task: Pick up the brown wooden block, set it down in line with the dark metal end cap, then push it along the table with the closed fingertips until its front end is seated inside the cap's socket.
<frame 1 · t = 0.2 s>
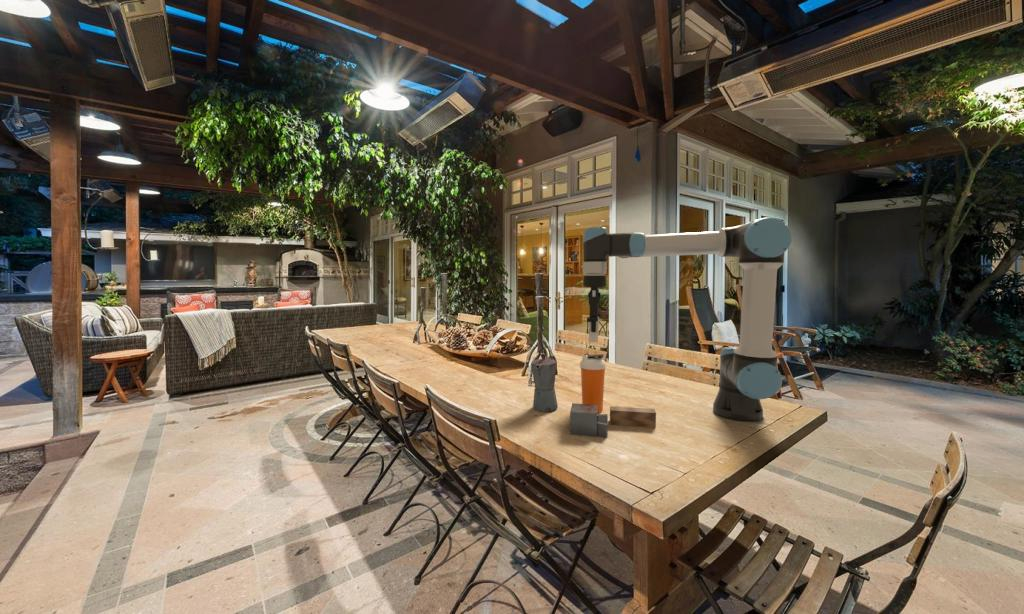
hand: (594, 338, 136), 27 cm above the table, fingers open, 13 cm apart
brown wooden block: (632, 424, 132), on the table
moka pot: (545, 408, 148), on the table
shaker bottle: (592, 410, 146), on the table
end cap: (580, 429, 127), on the table
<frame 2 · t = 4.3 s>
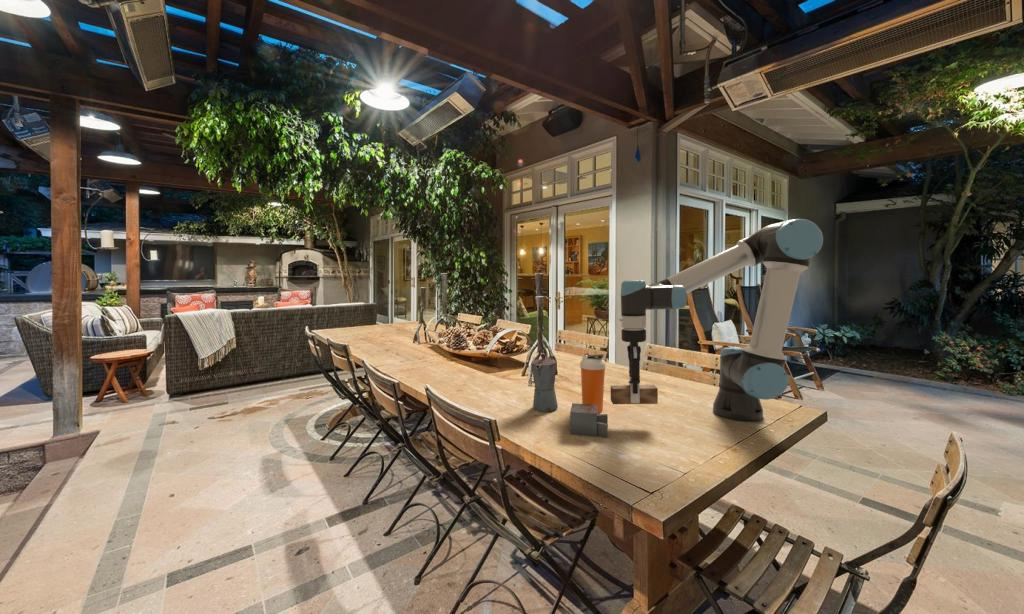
hand: (634, 400, 131), 8 cm above the table, fingers closed on brown wooden block, 5 cm apart
brown wooden block: (633, 402, 131), point 7 cm above the table, touching gripper
everything else where it was.
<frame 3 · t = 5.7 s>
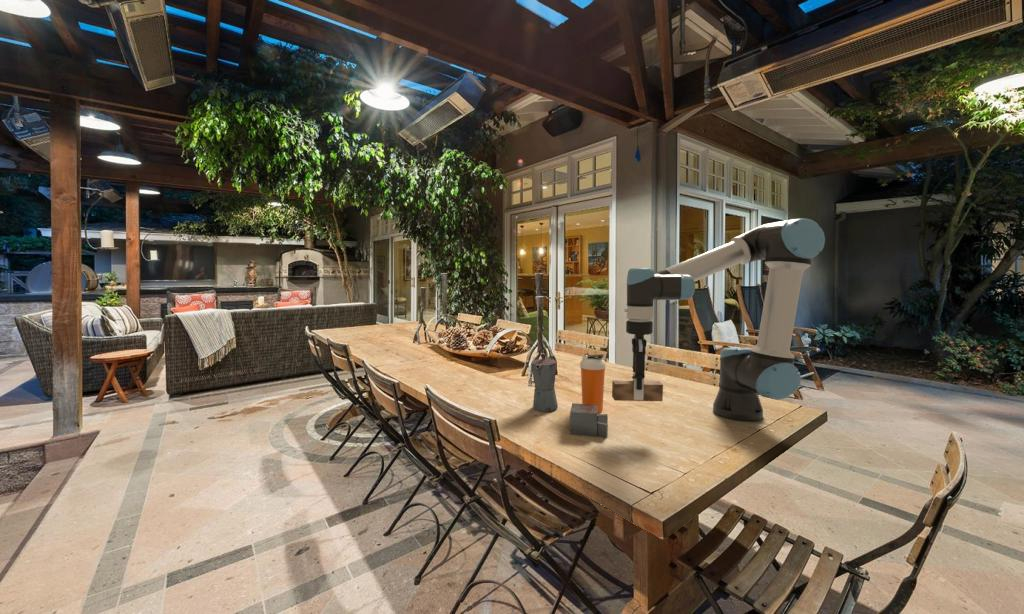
hand: (637, 396, 122), 12 cm above the table, fingers closed on brown wooden block, 5 cm apart
brown wooden block: (636, 398, 123), point 11 cm above the table, touching gripper
everything else where it was.
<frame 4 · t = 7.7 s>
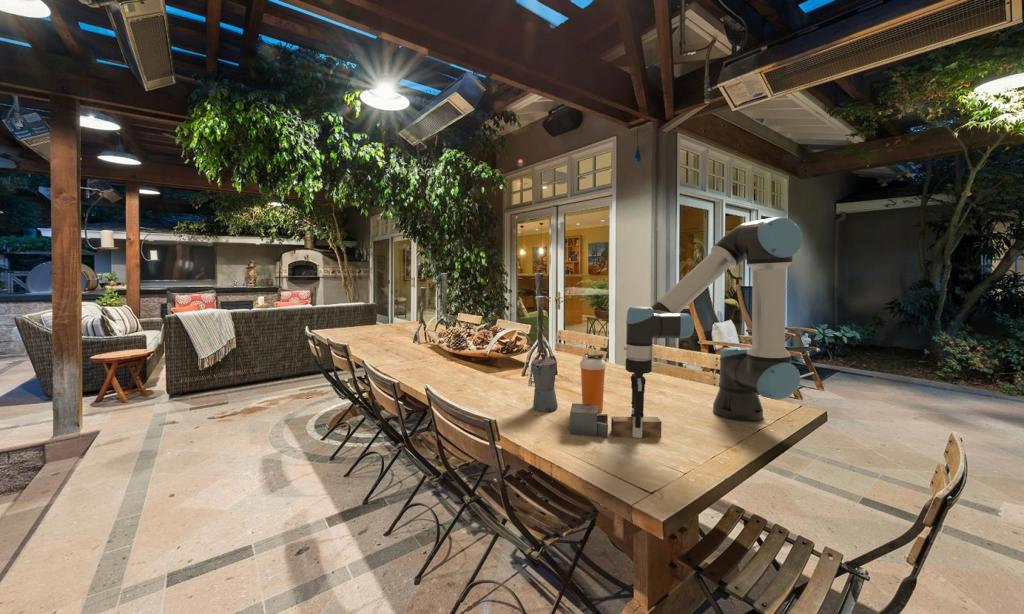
hand: (636, 433, 123), 0 cm above the table, fingers open, 5 cm apart
brown wooden block: (635, 435, 123), on the table, touching gripper
everything else where it was.
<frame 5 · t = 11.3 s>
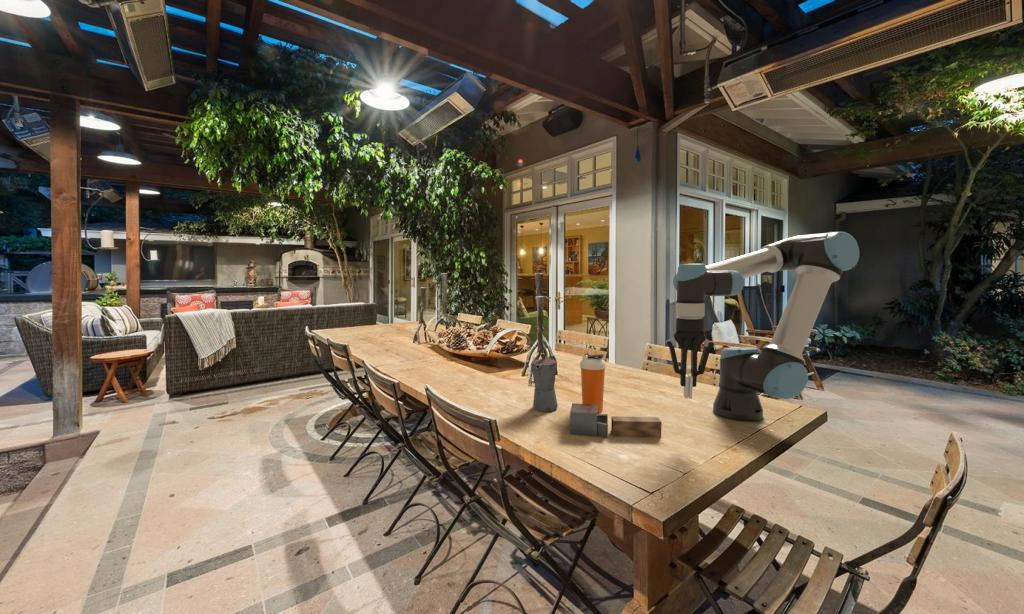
hand: (687, 397, 119), 12 cm above the table, fingers closed
brown wooden block: (635, 435, 123), on the table
everything else where it was.
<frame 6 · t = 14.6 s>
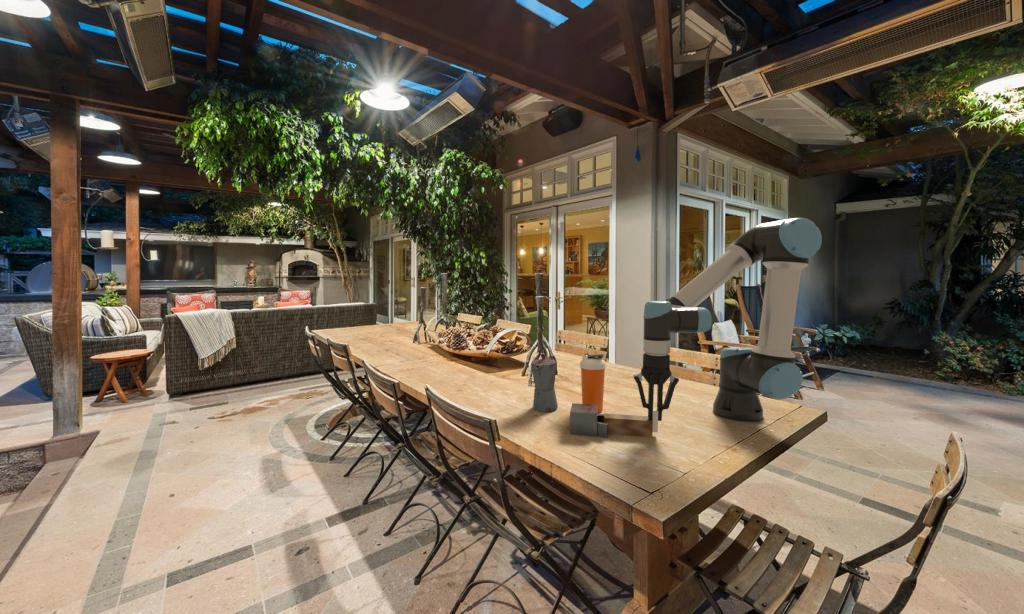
hand: (654, 430, 122), 2 cm above the table, fingers closed
brown wooden block: (627, 432, 125), on the table, touching gripper
everything else where it was.
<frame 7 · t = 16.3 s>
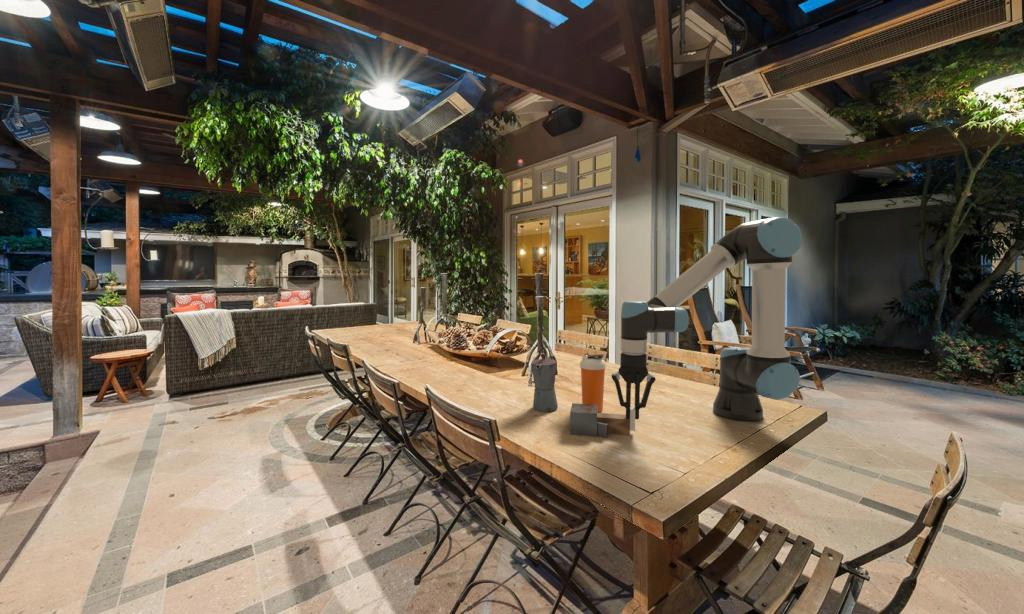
hand: (632, 428, 124), 2 cm above the table, fingers closed
brown wooden block: (606, 431, 126), on the table, touching gripper
everything else where it was.
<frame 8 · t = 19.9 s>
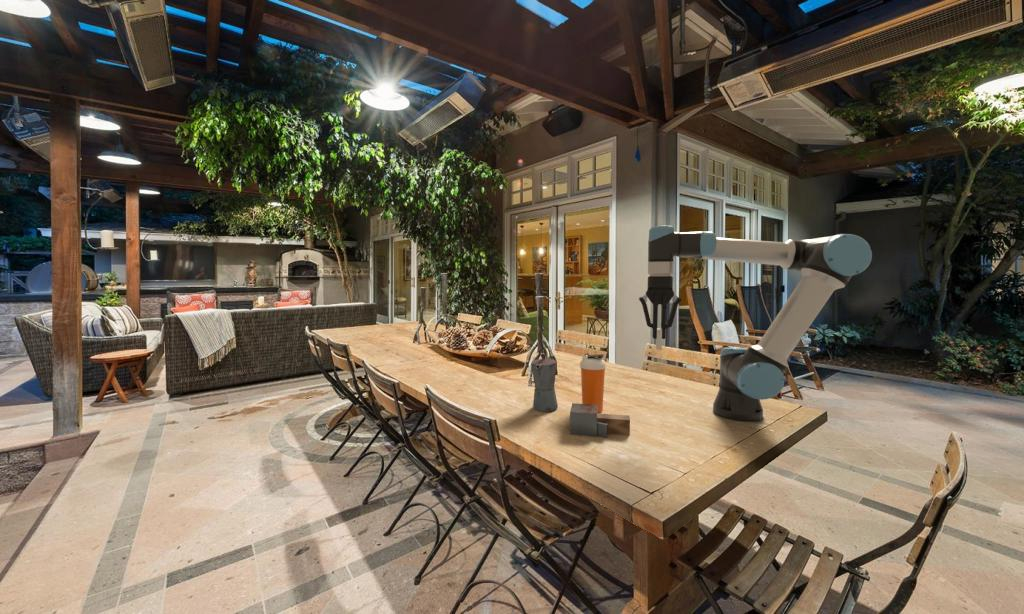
hand: (658, 348, 131), 24 cm above the table, fingers closed
brown wooden block: (605, 431, 126), on the table
everything else where it was.
at the end: brown wooden block 1.6 cm from the target spot, on the table; brown wooden block tilted 0°; the gripper is holding nothing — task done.
